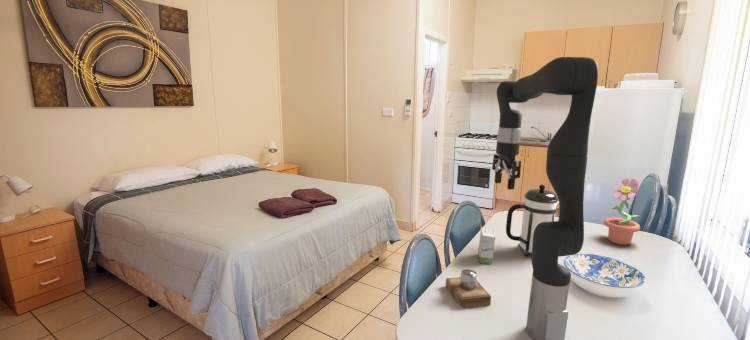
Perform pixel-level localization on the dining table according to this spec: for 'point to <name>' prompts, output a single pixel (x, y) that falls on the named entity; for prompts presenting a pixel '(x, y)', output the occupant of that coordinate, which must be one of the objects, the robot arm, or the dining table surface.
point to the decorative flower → (623, 214)
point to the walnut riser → (468, 294)
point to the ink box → (486, 246)
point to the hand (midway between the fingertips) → (504, 186)
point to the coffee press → (533, 215)
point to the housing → (468, 279)
